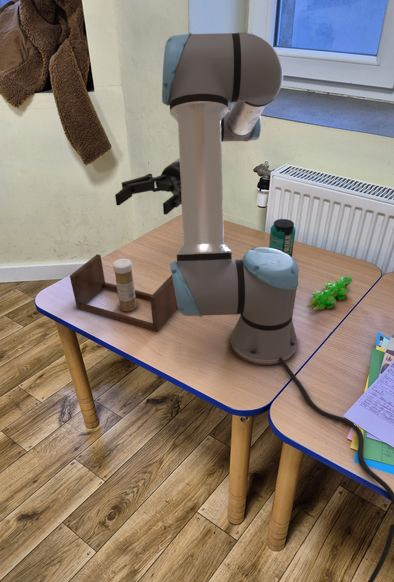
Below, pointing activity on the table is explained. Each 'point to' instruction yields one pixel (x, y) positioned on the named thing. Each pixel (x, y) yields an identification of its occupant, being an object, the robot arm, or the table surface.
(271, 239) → the green supplement bottle
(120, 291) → the sprinkles bottle
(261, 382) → the table surface
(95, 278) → the bottle rack
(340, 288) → the green long bumpy piece
